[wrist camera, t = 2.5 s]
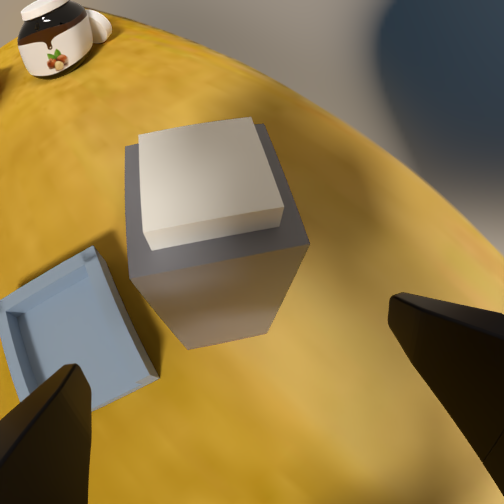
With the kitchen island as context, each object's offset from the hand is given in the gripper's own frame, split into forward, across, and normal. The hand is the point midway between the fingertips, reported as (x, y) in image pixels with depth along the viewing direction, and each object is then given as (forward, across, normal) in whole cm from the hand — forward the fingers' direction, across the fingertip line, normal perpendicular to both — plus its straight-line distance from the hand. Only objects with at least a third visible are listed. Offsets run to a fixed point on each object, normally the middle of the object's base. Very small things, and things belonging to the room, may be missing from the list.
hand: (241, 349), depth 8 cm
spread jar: (+39, +15, -22) cm, 48 cm away
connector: (+11, 0, +5) cm, 12 cm away
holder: (+11, +10, +5) cm, 16 cm away
